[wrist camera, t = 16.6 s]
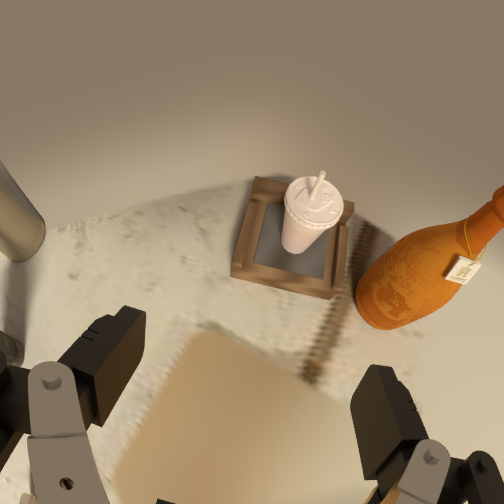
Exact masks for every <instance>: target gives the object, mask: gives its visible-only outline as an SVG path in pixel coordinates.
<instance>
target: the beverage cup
mask: <svg viewBox="0 0 504 504" xmlns="http://www.w3.org/2000/svg"><path fill="white" fill-rule="evenodd" d="M0 350H1V351H2V352H3V353H4V354H5V356H6V358H7V361H8V364H9V365H13V366H17V367H21V365H22V364H23V361H24V349H23V347H22V345H21V344H20V342H18V341H17V340H15V339H14V338H12V337H11V336H9V335H7V334H5V333H4V332H2V331H0Z"/></svg>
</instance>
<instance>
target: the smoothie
mask: <svg viewBox="0 0 504 504" xmlns="http://www.w3.org/2000/svg"><path fill="white" fill-rule="evenodd" d="M325 175H326V172H325V171H321V172H320V174H319V176H318V177H315V176H303V177H299V178H297V179H295V180H294V181H293V182H291V184H290V185H289V187H288V189H287V191H286V193H285V197H284V202H285V207H286V208H285V215H284V222H283V229H282V235H281V243H282V246H283V247H284V249H285V250H287V251H288V252H290V253H293V254H300V253H302V252H304V251H305V250H306V249H307V248H308V247H309V246H310V245H311V244H312V243H313V242H314V241H315V240H316V239H317V238H318V237H319V236H320V235H321V234H322V233H323V232H324V231H325V230H326V229H328V228H330V227H332V226H334V225H335V224H336V223H337V222H338V221H339V218H340V216H341V215H342V212H343V206H344V205H343V199H342V197H341V195H340V193H339V192H338V190H337V189H336V188H335V187H334V186H333V185H332V184H331V183H329V182H328V181H326V180H324V177H325Z"/></svg>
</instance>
